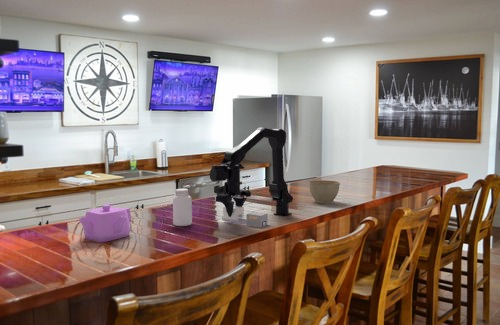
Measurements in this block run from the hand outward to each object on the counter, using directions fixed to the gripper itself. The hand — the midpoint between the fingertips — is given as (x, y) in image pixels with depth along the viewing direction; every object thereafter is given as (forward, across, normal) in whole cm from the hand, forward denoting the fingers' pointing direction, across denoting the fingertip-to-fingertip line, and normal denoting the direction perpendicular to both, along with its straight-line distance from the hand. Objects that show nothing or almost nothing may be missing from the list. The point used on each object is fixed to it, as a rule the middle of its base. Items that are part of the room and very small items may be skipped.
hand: (233, 215), depth 210 cm
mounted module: (+2, 0, +12) cm, 12 cm away
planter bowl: (+3, -64, +13) cm, 65 cm away
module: (+1, 0, 0) cm, 1 cm away
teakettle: (+3, +47, -26) cm, 54 cm away
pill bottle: (+3, +15, -16) cm, 22 cm away
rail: (+3, 0, +5) cm, 6 cm away
